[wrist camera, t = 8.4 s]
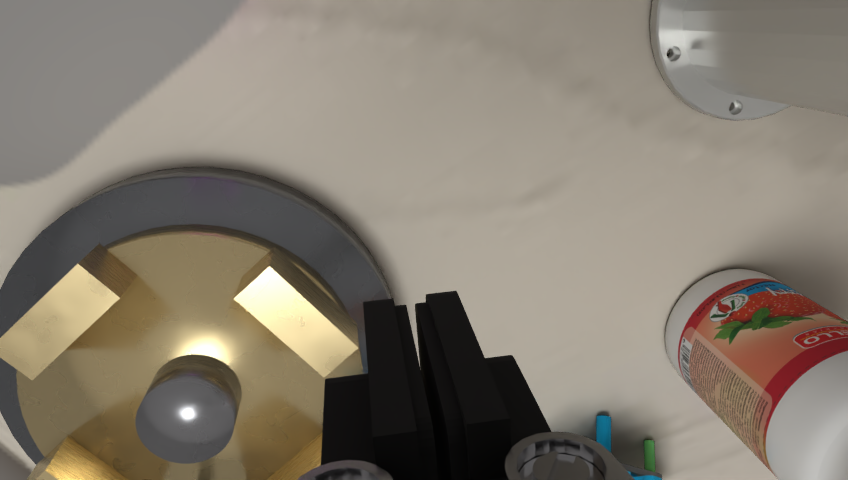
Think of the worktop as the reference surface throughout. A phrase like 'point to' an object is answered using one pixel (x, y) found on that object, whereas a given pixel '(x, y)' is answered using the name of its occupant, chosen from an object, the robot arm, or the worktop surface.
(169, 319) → the four-jaw chuck
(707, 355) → the fruit juice
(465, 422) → the robot arm
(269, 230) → the cap flange
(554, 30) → the worktop surface
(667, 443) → the worktop surface
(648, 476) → the gear
